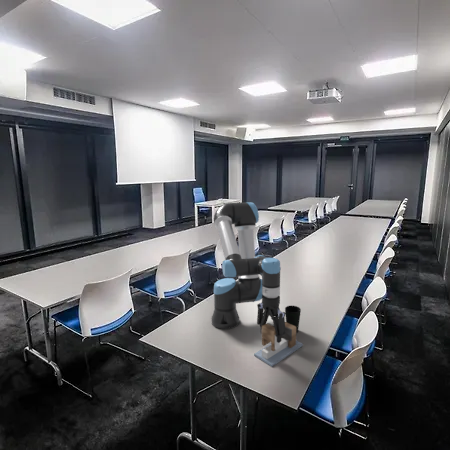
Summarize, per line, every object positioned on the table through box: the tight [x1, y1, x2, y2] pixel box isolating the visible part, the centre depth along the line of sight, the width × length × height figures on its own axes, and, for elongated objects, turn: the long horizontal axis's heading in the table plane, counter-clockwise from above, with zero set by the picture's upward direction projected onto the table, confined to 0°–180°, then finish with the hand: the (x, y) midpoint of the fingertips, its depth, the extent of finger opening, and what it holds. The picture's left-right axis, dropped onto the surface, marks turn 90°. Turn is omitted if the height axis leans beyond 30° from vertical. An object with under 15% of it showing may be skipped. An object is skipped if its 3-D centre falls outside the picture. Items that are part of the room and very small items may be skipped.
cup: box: [284, 305, 302, 334], centre depth 147 cm, size 8×8×12 cm
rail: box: [254, 338, 304, 367], centre depth 132 cm, size 10×22×4 cm, turn 131°
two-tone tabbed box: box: [261, 322, 276, 351], centre depth 127 cm, size 7×4×9 cm, turn 40°
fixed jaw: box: [281, 321, 297, 348], centre depth 135 cm, size 7×4×9 cm, turn 41°
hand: (270, 344), depth 127 cm, fingers closed on two-tone tabbed box, 7 cm apart
